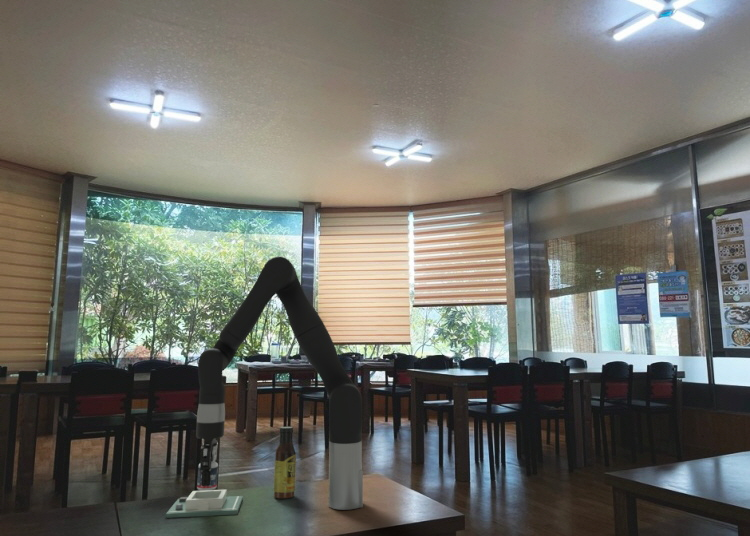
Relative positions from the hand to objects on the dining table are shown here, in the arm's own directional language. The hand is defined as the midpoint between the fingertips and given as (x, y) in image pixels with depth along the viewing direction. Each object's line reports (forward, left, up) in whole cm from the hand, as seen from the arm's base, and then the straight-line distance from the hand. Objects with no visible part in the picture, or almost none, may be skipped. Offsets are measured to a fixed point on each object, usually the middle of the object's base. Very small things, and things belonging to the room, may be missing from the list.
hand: (207, 482), depth 140 cm
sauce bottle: (-21, -8, -7) cm, 24 cm away
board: (0, 0, -7) cm, 7 cm away
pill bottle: (0, 0, -2) cm, 2 cm away
